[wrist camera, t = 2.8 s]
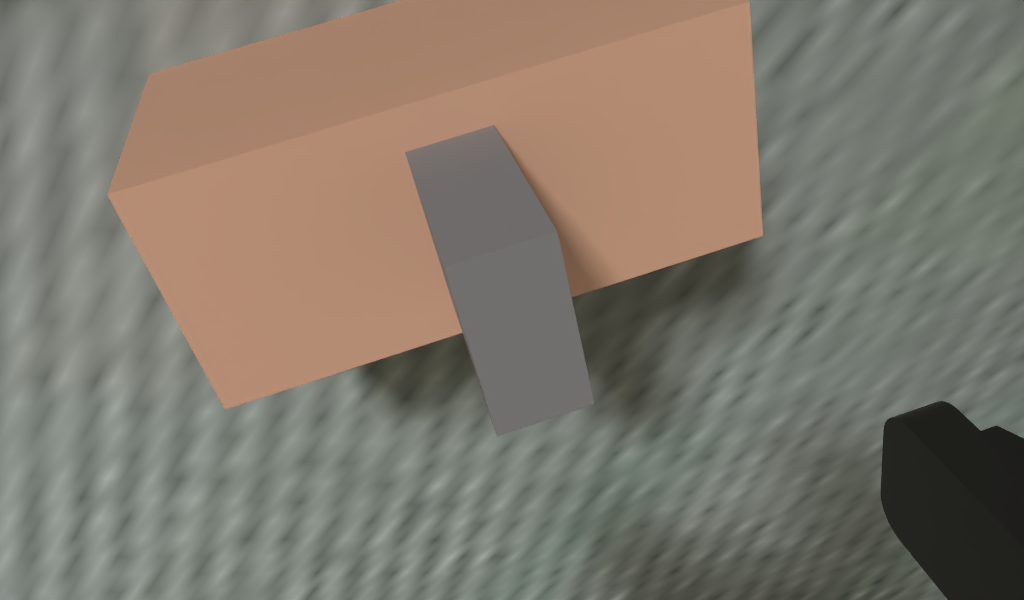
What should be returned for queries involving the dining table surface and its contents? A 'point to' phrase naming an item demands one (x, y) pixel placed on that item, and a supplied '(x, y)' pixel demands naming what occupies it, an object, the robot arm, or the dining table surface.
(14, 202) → the dining table surface
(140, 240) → the tan box with handle
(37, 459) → the dining table surface
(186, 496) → the dining table surface
